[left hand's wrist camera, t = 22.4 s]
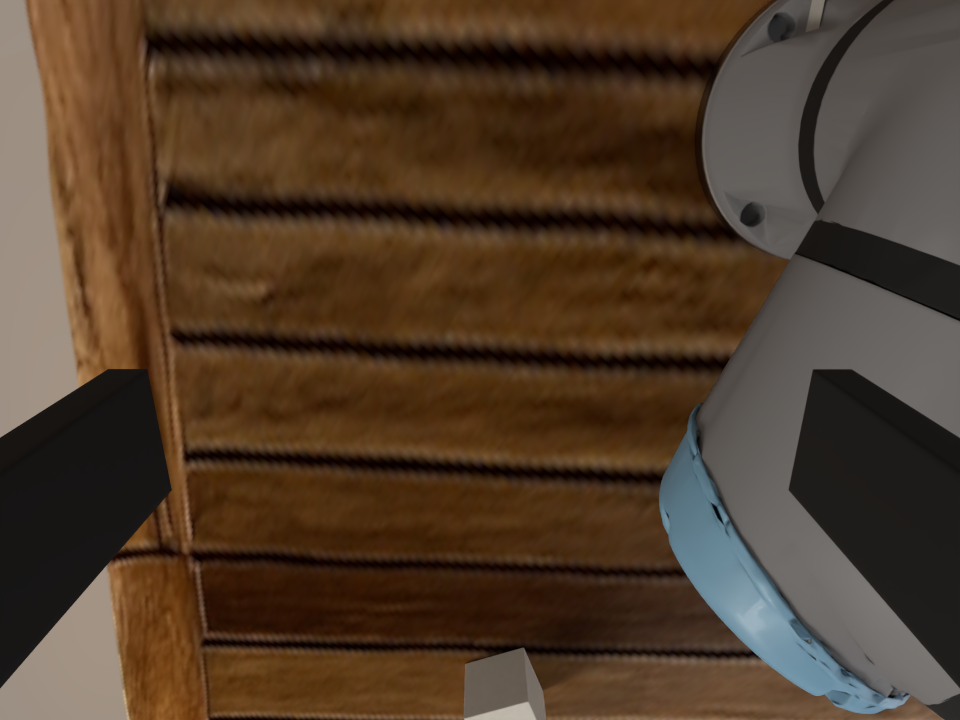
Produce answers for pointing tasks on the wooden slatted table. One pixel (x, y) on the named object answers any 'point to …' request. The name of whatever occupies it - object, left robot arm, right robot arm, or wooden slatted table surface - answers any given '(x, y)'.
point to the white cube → (503, 689)
